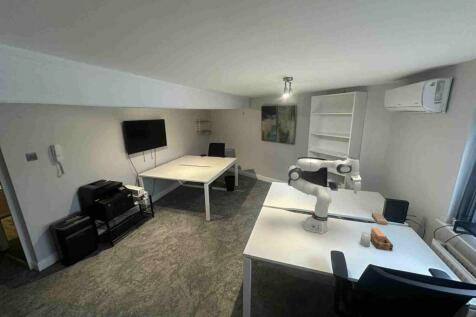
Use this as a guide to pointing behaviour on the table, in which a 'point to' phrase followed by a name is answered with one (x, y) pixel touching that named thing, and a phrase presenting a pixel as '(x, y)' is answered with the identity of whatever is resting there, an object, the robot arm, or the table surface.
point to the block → (378, 234)
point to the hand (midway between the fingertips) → (352, 191)
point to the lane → (378, 245)
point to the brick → (379, 218)
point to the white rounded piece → (365, 239)
